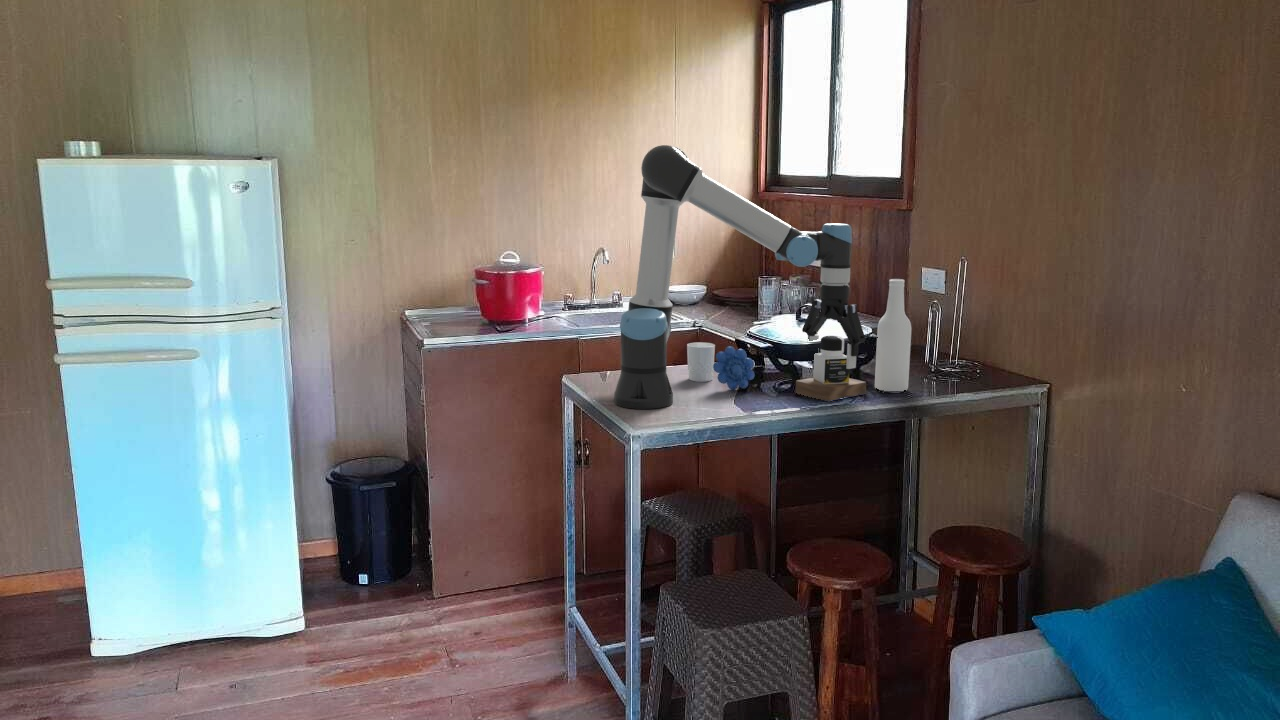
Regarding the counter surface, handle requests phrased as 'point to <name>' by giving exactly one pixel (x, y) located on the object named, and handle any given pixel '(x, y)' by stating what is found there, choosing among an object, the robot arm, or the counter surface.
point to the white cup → (700, 361)
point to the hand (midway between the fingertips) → (831, 363)
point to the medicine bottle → (831, 362)
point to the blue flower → (734, 368)
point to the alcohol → (893, 342)
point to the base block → (829, 389)
